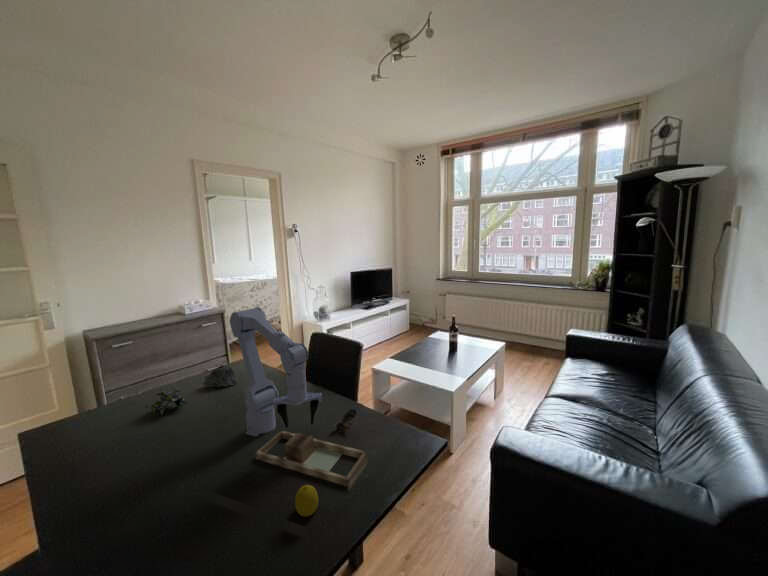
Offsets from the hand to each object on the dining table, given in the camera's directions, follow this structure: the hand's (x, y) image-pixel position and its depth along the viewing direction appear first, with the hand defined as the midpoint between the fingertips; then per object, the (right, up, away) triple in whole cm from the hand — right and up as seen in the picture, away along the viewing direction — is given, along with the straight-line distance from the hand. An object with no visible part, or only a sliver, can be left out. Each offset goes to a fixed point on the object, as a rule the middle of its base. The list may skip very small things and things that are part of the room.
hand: (299, 424), depth 102 cm
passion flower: (-60, -7, +28) cm, 67 cm away
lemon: (+8, -13, -22) cm, 27 cm away
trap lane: (+5, -10, -4) cm, 12 cm away
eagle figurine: (+13, -8, +12) cm, 20 cm away
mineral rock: (-50, -3, +51) cm, 71 cm away
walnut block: (+1, -9, -2) cm, 9 cm away
